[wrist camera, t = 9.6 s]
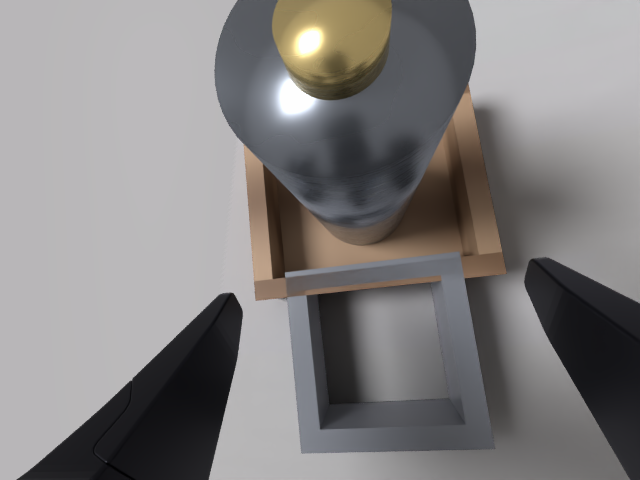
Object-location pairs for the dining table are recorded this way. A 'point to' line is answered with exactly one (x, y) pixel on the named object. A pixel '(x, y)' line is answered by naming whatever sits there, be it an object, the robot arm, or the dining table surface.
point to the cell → (345, 99)
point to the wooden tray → (406, 241)
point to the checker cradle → (394, 416)
